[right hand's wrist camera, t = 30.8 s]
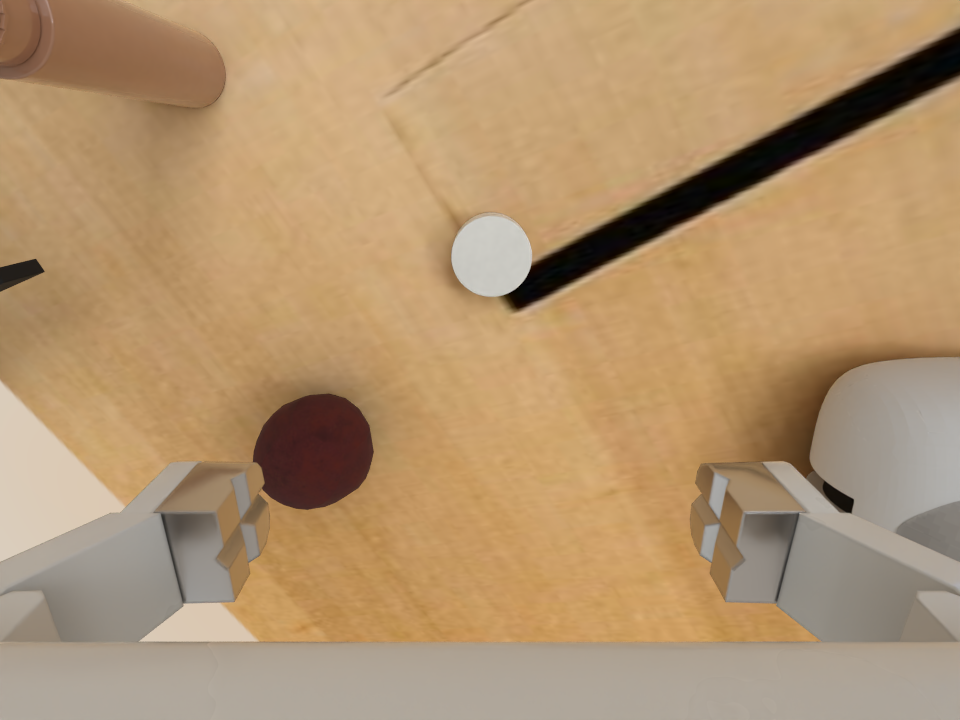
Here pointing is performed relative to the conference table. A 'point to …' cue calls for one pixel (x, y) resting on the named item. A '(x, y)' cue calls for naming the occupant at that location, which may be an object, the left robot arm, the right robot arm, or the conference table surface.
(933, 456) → the white plastic device
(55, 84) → the tan cylinder
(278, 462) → the dark brown oval lump
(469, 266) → the lid
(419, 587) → the conference table surface
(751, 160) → the conference table surface
